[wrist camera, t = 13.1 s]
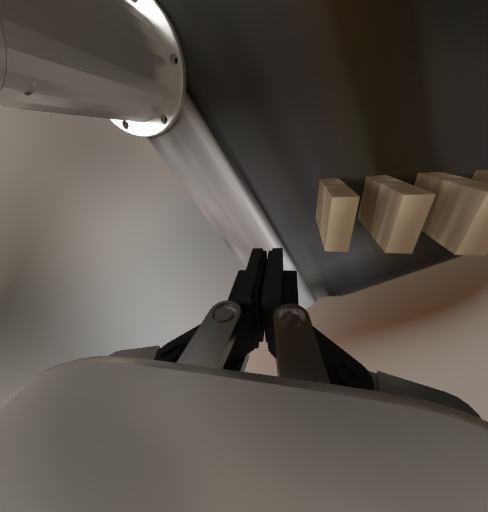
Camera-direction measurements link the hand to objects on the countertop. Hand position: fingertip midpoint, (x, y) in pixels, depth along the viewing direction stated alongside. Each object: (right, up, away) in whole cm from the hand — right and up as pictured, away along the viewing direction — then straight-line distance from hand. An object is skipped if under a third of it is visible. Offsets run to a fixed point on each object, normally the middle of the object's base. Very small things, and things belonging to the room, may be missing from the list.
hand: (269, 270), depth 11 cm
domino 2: (+14, +8, +12) cm, 20 cm away
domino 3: (+19, +8, +11) cm, 23 cm away
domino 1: (+9, +8, +13) cm, 17 cm away
